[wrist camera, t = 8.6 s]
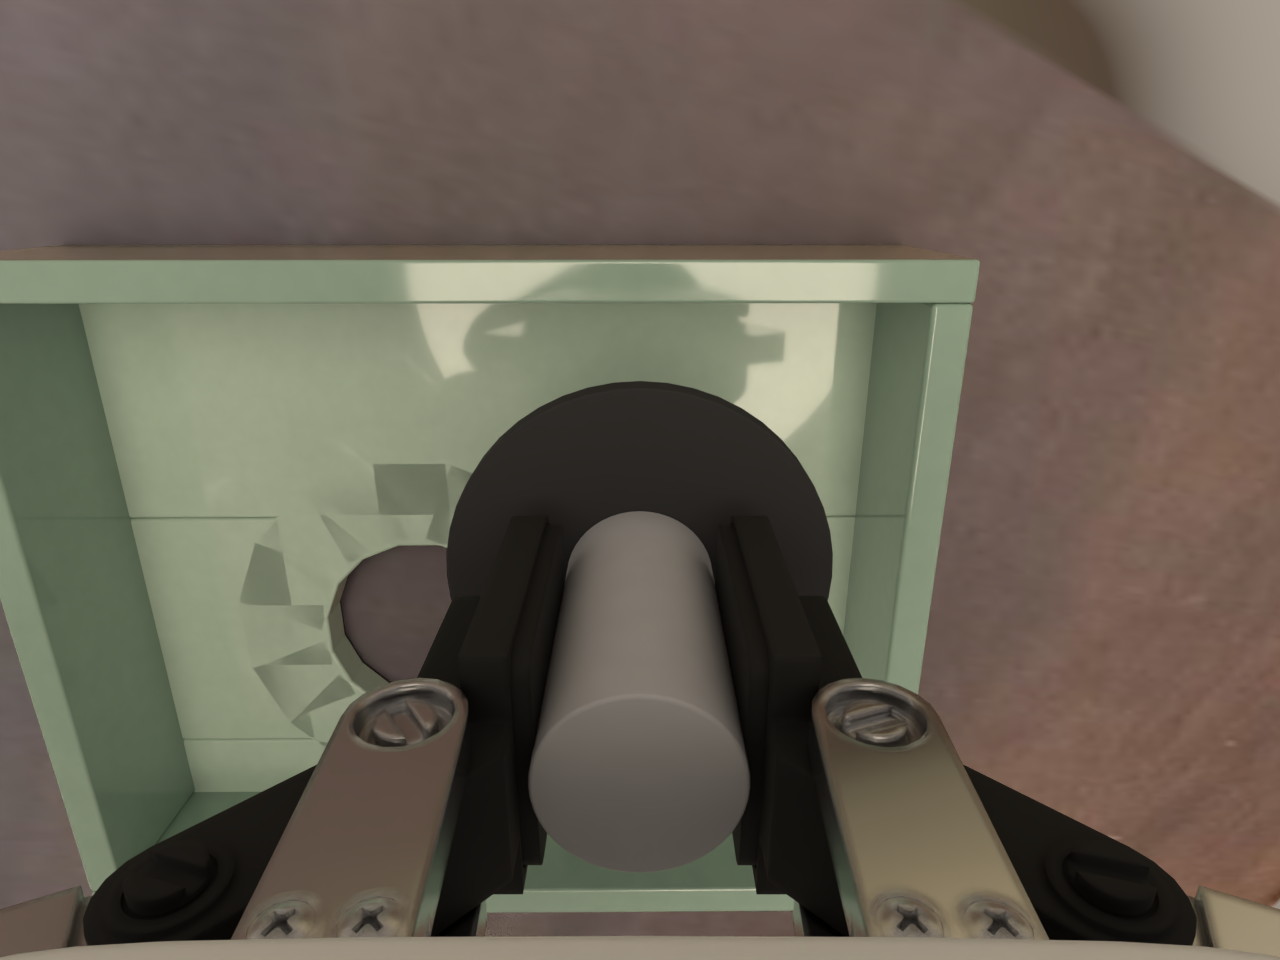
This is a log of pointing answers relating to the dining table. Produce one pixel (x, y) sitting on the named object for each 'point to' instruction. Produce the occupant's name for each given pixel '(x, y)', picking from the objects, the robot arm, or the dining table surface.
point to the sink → (68, 276)
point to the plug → (639, 606)
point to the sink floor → (392, 463)
